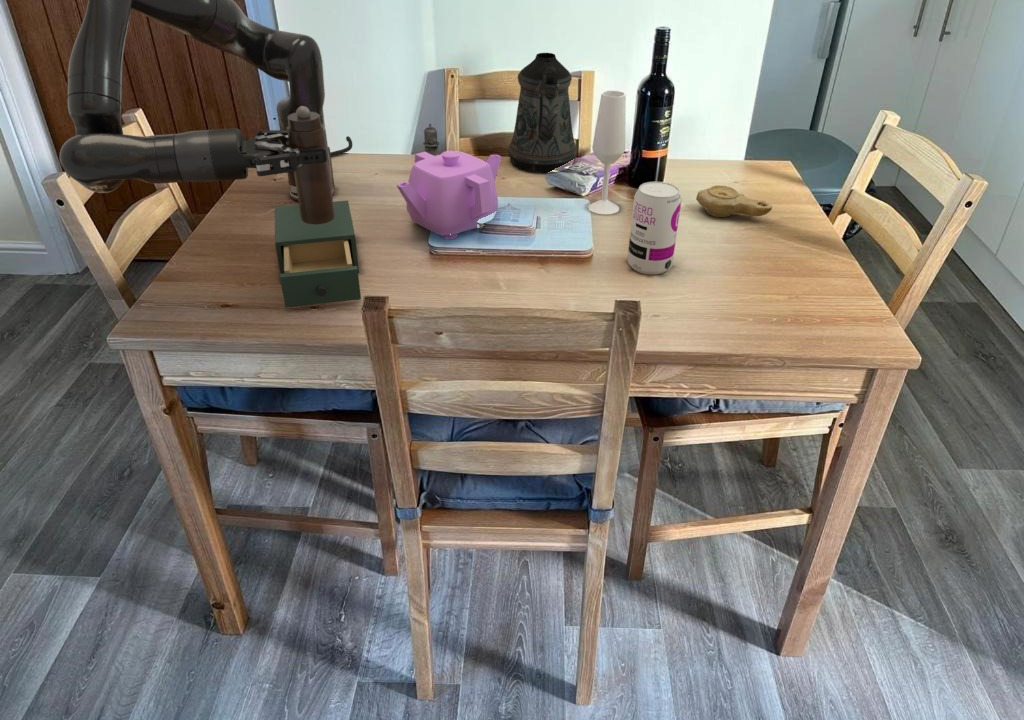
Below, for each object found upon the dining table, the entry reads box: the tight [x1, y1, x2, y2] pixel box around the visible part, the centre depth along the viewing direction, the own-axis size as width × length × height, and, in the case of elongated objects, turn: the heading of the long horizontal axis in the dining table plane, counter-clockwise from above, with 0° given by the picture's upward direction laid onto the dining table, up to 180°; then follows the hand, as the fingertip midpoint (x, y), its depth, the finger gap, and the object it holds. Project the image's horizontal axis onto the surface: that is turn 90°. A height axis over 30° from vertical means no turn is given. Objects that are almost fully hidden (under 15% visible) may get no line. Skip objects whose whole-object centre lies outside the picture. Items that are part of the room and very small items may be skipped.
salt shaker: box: [422, 123, 440, 156], centre depth 174 cm, size 6×6×12 cm
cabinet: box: [274, 199, 360, 274], centre depth 140 cm, size 16×14×8 cm
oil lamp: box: [695, 184, 773, 218], centre depth 160 cm, size 11×14×5 cm
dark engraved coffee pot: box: [507, 52, 578, 174], centre depth 177 cm, size 16×19×25 cm
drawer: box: [279, 239, 362, 309], centre depth 131 cm, size 16×12×6 cm
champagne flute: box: [587, 89, 627, 215], centre depth 156 cm, size 7×7×24 cm
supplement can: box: [627, 181, 683, 276], centre depth 137 cm, size 8×8×15 cm
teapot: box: [396, 150, 502, 240], centre depth 151 cm, size 19×18×15 cm
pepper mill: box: [287, 106, 335, 224], centre depth 120 cm, size 5×5×18 cm
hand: (324, 147), depth 119 cm, fingers closed on pepper mill, 5 cm apart
